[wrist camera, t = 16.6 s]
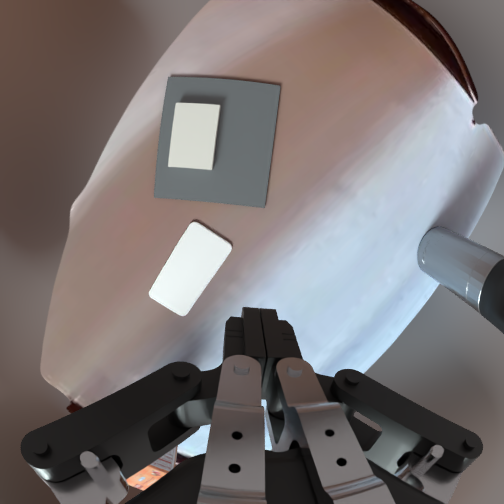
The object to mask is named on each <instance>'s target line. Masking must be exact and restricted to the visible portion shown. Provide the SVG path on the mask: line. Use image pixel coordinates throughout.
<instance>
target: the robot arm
mask: <svg viewBox="0 0 504 504" xmlns="http://www.w3.org/2000/svg"><path fill="white" fill-rule="evenodd" d="M418 264H419V266H420V268H421V270H422V271H424V272H425V273H426V274H428V275H429V276H430V277H432V278H433V279H435V280H436V281H437V282H439V283H440V284H441V285H443V286H444V287H445V288H447V289H448V290H450V291H451V292H452V293H454V294H455V295H456V296H458V297H459V298H460V299H462V300H463V301H464V302H465V303H467V304H468V305H469V306H471V307H472V308H473V309H475V310H476V311H477V312H478V313H479V314H481V315H482V316H483V317H484V318H486V319H487V320H488V321H490V322H491V323H492V324H493V325H494V326H495V327H497V328H498V329H499V330H500V331H501V332H502V333H503V334H504V256H503V255H501V254H499V253H497V252H495V251H493V250H491V249H489V248H487V247H485V246H482V245H480V244H478V243H476V242H474V241H472V240H470V239H468V238H466V237H463V236H461V235H459V234H457V233H455V232H452V231H450V230H448V229H445V228H443V227H435V228H433V229H431V230H430V231H428V232H427V233H426V235H425V236H424V237H423V239H422V241H421V243H420V246H419V249H418ZM296 340H297V339H296V336H295V333H294V330H293V327H292V326H291V325H290V324H289V323H288V322H287V321H286V320H278V316H277V312H276V310H275V309H263V308H260V309H259V308H250V307H243V308H242V315H241V317H230V318H229V319H228V320H227V322H226V325H225V336H224V347H223V362H222V364H221V365H220V366H219V367H217V368H215V369H212V370H208V371H200V370H199V369H198V368H197V367H196V366H195V365H193V364H191V363H187V362H173V363H170V364H168V365H166V366H164V367H162V368H161V369H159V370H157V371H155V372H153V373H151V374H150V375H148V376H146V377H144V378H142V379H140V380H138V381H136V382H134V383H133V384H131V385H129V386H127V387H125V388H123V389H121V390H119V391H117V392H115V393H113V394H111V395H109V396H107V397H105V398H103V399H101V400H99V401H97V402H95V403H93V404H91V405H89V406H87V407H84V408H82V409H80V410H78V411H76V412H74V413H72V414H70V415H67V416H65V417H63V418H61V419H59V420H56V421H54V422H52V423H49V424H47V425H45V426H43V427H40V428H38V429H36V430H33V431H31V432H29V433H28V434H27V435H25V437H24V438H23V440H22V442H21V453H22V455H23V457H24V459H25V460H26V461H27V463H28V464H29V465H30V466H31V467H32V468H33V469H34V470H35V472H36V473H37V475H38V476H39V477H40V478H41V479H42V480H43V481H44V482H45V483H46V484H47V485H48V486H49V487H50V488H51V490H52V491H53V493H54V494H55V496H56V497H57V499H58V500H59V502H60V503H61V504H118V503H119V502H120V501H121V500H122V499H123V498H124V497H125V496H126V494H127V493H128V483H127V480H126V479H128V478H130V477H131V476H133V475H134V474H136V473H138V472H139V471H141V470H142V469H144V468H145V467H147V466H148V465H150V464H151V463H153V462H154V461H156V460H157V459H159V458H160V457H162V456H163V455H165V454H166V453H168V452H169V451H170V450H172V449H173V448H175V447H176V446H177V445H179V444H180V443H182V442H183V441H184V440H186V439H187V438H188V437H190V436H191V435H192V434H194V433H195V432H196V431H197V430H199V428H200V426H203V425H209V424H211V427H210V433H209V439H208V445H207V451H206V453H204V454H200V455H197V456H194V457H191V458H189V459H187V460H185V461H183V462H181V463H180V464H178V465H177V466H176V467H174V468H173V469H172V470H171V471H169V472H168V473H167V474H165V475H164V476H163V477H161V478H160V479H159V480H157V481H156V482H155V483H153V484H152V485H151V486H149V487H148V488H147V489H145V490H144V491H142V492H141V493H140V494H138V495H137V496H135V497H134V498H132V499H131V500H129V501H128V502H126V503H125V504H448V503H449V501H450V498H451V497H452V495H453V492H454V490H455V488H456V485H457V483H458V481H459V478H460V476H461V473H462V472H463V471H464V470H465V469H466V468H467V467H468V466H469V465H471V463H472V462H474V461H475V459H477V458H478V457H479V456H480V454H481V453H482V450H483V444H482V442H481V439H480V438H479V436H477V435H476V434H475V433H473V432H471V431H469V430H467V429H465V428H463V427H461V426H459V425H457V424H455V423H453V422H451V421H449V420H447V419H445V418H443V417H441V416H439V415H437V414H435V413H433V412H431V411H430V410H427V409H425V408H424V407H422V406H420V405H418V404H416V403H414V402H413V401H411V400H409V399H407V398H405V397H403V396H401V395H400V394H398V393H396V392H394V391H392V390H390V389H389V388H387V387H385V386H383V385H382V384H380V383H378V382H376V381H375V380H373V379H371V378H369V377H367V376H366V375H364V374H362V373H361V372H359V371H356V370H353V369H343V370H340V371H338V372H337V373H336V374H335V376H334V377H329V376H325V375H320V374H317V373H315V372H314V370H313V368H312V366H311V365H310V364H309V363H308V362H306V361H304V360H303V358H302V355H301V352H300V349H299V346H298V342H297V341H296ZM261 399H266V402H267V406H266V410H265V418H266V422H267V427H268V431H269V436H270V440H271V444H272V450H273V451H269V450H265V423H264V407H263V406H261ZM356 411H357V412H359V413H360V414H362V415H364V416H365V417H367V418H369V419H370V420H372V421H374V422H375V423H377V424H378V425H380V427H381V428H382V431H381V432H380V431H377V430H375V429H373V428H372V427H370V426H368V425H367V424H365V423H363V422H362V421H360V420H358V419H357V418H355V417H354V416H353V415H354V413H355V412H356Z"/></svg>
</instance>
